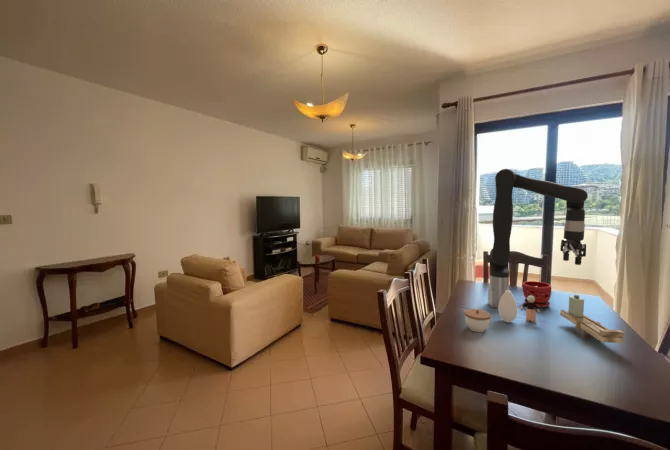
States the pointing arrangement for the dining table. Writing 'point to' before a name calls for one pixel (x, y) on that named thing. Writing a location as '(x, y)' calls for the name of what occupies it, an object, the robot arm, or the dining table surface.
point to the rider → (576, 306)
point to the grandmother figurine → (530, 309)
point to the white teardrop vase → (507, 306)
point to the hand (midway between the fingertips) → (571, 262)
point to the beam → (593, 329)
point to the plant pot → (537, 292)
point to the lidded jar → (477, 319)
